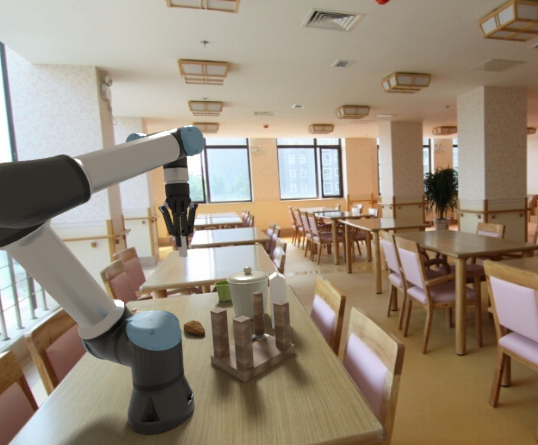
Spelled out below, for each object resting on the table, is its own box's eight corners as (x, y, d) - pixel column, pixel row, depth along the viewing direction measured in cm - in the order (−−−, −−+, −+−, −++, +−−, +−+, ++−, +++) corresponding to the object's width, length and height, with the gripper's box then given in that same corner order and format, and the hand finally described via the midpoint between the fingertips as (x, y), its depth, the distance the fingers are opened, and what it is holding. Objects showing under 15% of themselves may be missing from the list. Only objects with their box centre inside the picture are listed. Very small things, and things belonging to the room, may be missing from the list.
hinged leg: (242, 346, 100) (239, 301, 99) (235, 342, 103) (232, 299, 102) (267, 334, 108) (264, 292, 107) (260, 331, 110) (257, 290, 109)
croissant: (177, 331, 123) (176, 319, 123) (192, 325, 128) (191, 313, 128) (195, 341, 114) (194, 327, 113) (211, 334, 118) (210, 321, 118)
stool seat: (244, 382, 86) (240, 323, 84) (211, 362, 97) (206, 310, 96) (295, 352, 100) (292, 301, 99) (260, 338, 112) (257, 293, 110)
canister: (221, 316, 135) (217, 268, 133) (253, 304, 147) (250, 260, 145) (247, 327, 122) (243, 274, 120) (280, 314, 134) (277, 265, 132)
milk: (286, 321, 125) (283, 267, 124) (288, 327, 119) (285, 270, 118) (271, 322, 125) (268, 268, 123) (272, 329, 119) (269, 271, 117)
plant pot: (213, 303, 153) (211, 285, 152) (219, 296, 162) (218, 280, 162) (231, 303, 152) (230, 285, 151) (236, 296, 161) (235, 280, 160)
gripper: (189, 183, 107) (194, 252, 109) (151, 184, 98) (158, 259, 100) (201, 181, 101) (207, 254, 103) (162, 182, 92) (170, 261, 94)
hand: (183, 256), depth 102 cm, fingers closed
